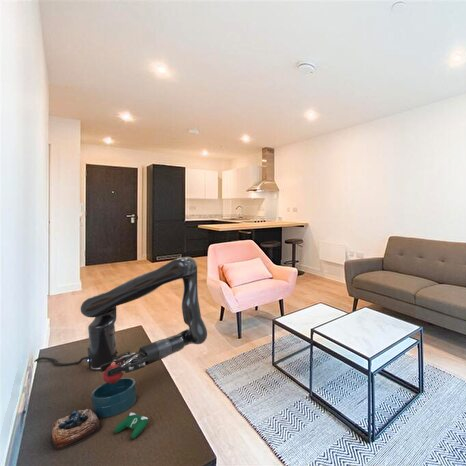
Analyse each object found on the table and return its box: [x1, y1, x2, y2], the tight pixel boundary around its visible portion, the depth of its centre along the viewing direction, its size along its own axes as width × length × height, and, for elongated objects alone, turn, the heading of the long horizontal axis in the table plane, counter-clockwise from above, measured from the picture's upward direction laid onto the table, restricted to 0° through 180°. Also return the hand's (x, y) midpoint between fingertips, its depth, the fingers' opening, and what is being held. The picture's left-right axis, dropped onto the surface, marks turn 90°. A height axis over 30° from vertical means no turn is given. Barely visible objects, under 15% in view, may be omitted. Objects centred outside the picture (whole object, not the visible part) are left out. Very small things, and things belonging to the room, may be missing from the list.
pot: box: [91, 377, 137, 419], centre depth 106 cm, size 12×12×7 cm
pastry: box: [51, 408, 100, 450], centre depth 93 cm, size 11×12×6 cm
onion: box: [102, 362, 125, 384], centre depth 106 cm, size 6×6×8 cm
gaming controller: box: [114, 412, 149, 440], centre depth 95 cm, size 9×4×6 cm
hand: (104, 371), depth 103 cm, fingers closed on onion, 5 cm apart
